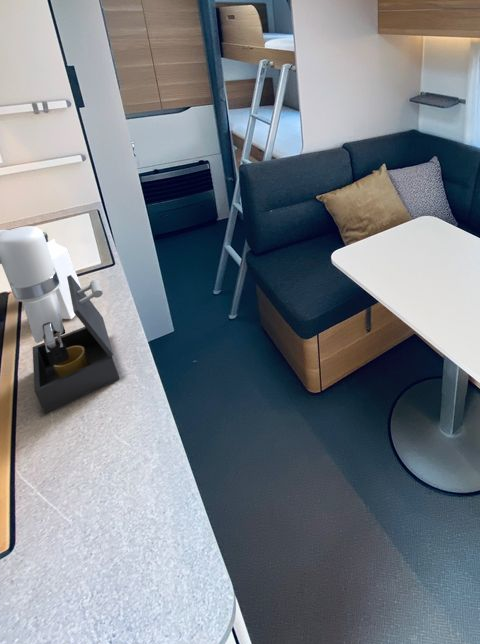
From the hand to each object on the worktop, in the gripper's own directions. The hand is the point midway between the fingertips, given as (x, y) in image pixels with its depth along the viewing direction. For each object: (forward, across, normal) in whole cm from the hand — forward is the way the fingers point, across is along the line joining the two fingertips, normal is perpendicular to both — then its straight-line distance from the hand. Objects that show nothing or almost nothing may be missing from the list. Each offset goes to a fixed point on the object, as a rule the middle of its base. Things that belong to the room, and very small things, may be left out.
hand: (58, 348), depth 91 cm
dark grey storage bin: (+8, 0, +2) cm, 9 cm away
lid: (-6, 0, +7) cm, 9 cm away
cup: (+8, 0, +1) cm, 8 cm away
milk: (+9, -27, +2) cm, 29 cm away
